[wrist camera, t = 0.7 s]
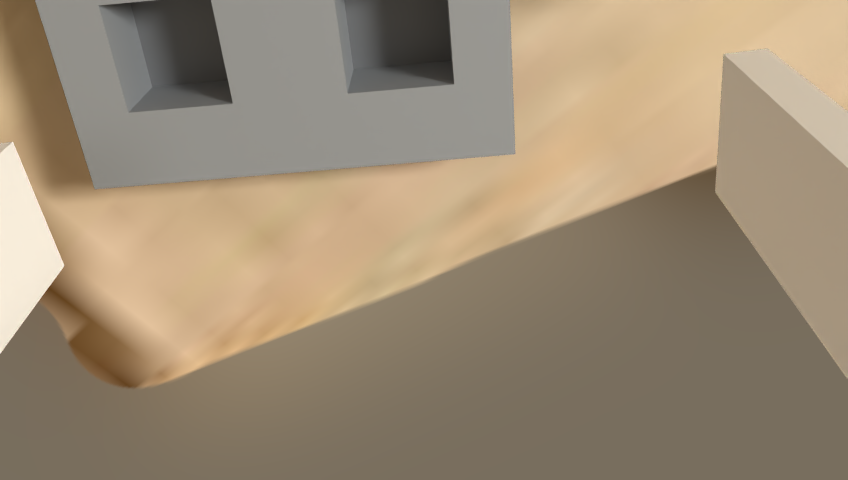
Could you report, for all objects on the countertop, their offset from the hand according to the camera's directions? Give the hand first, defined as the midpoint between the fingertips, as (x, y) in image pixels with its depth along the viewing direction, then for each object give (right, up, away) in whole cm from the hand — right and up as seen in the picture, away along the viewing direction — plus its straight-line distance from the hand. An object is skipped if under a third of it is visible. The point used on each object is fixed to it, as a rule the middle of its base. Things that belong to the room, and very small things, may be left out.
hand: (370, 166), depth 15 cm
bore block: (-5, +9, +23) cm, 26 cm away
